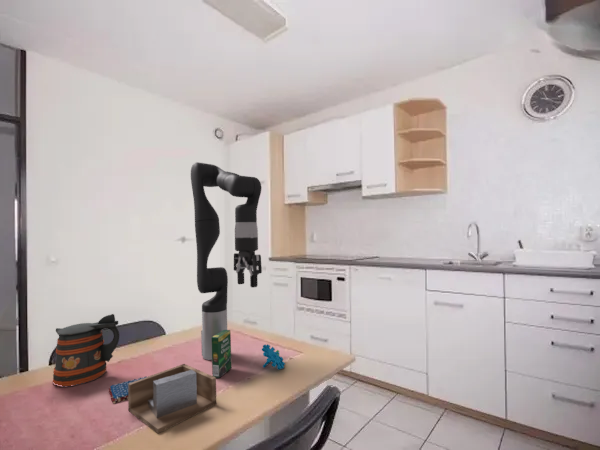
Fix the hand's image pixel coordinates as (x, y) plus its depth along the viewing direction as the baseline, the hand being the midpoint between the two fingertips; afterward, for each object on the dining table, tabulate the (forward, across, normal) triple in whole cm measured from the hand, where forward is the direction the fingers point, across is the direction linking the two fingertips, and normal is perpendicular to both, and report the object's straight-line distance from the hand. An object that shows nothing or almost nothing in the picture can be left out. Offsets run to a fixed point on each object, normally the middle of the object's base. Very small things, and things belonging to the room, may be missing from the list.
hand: (247, 285), depth 105 cm
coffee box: (+29, -6, -6) cm, 30 cm away
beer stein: (+29, -35, -41) cm, 61 cm away
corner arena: (+29, +5, -26) cm, 39 cm away
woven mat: (+30, -14, -32) cm, 46 cm away
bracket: (+28, +5, -26) cm, 38 cm away
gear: (+29, +2, +9) cm, 30 cm away
